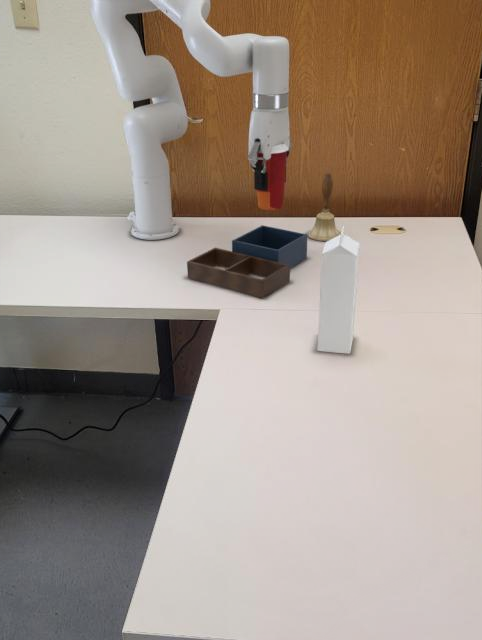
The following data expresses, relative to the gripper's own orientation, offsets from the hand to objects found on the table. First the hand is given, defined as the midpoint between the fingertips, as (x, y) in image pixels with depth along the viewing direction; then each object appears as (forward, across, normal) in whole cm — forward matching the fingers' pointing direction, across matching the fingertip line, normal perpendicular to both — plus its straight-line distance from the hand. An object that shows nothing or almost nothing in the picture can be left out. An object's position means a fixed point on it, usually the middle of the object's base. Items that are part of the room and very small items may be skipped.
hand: (270, 185), depth 161 cm
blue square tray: (+18, 0, 0) cm, 18 cm away
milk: (+18, +28, +33) cm, 47 cm away
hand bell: (+18, -22, +2) cm, 29 cm away
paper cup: (+5, 0, 0) cm, 5 cm away
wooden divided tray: (+18, +13, 0) cm, 22 cm away
